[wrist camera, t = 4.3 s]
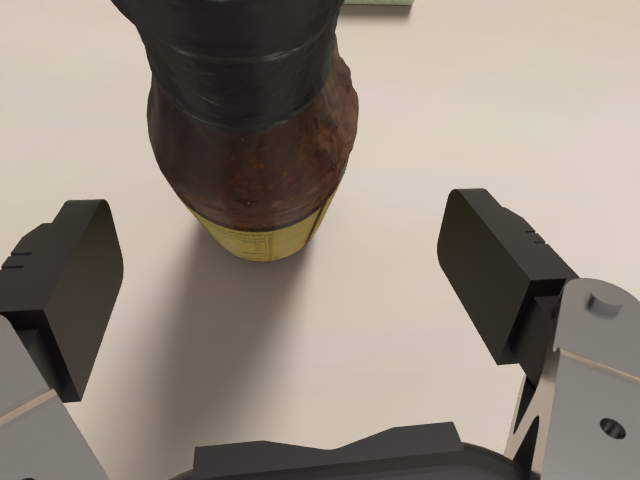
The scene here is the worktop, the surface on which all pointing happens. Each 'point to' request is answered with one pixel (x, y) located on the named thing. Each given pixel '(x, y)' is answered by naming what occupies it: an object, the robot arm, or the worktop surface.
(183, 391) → the worktop surface
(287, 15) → the sauce bottle
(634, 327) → the robot arm
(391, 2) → the trivet
